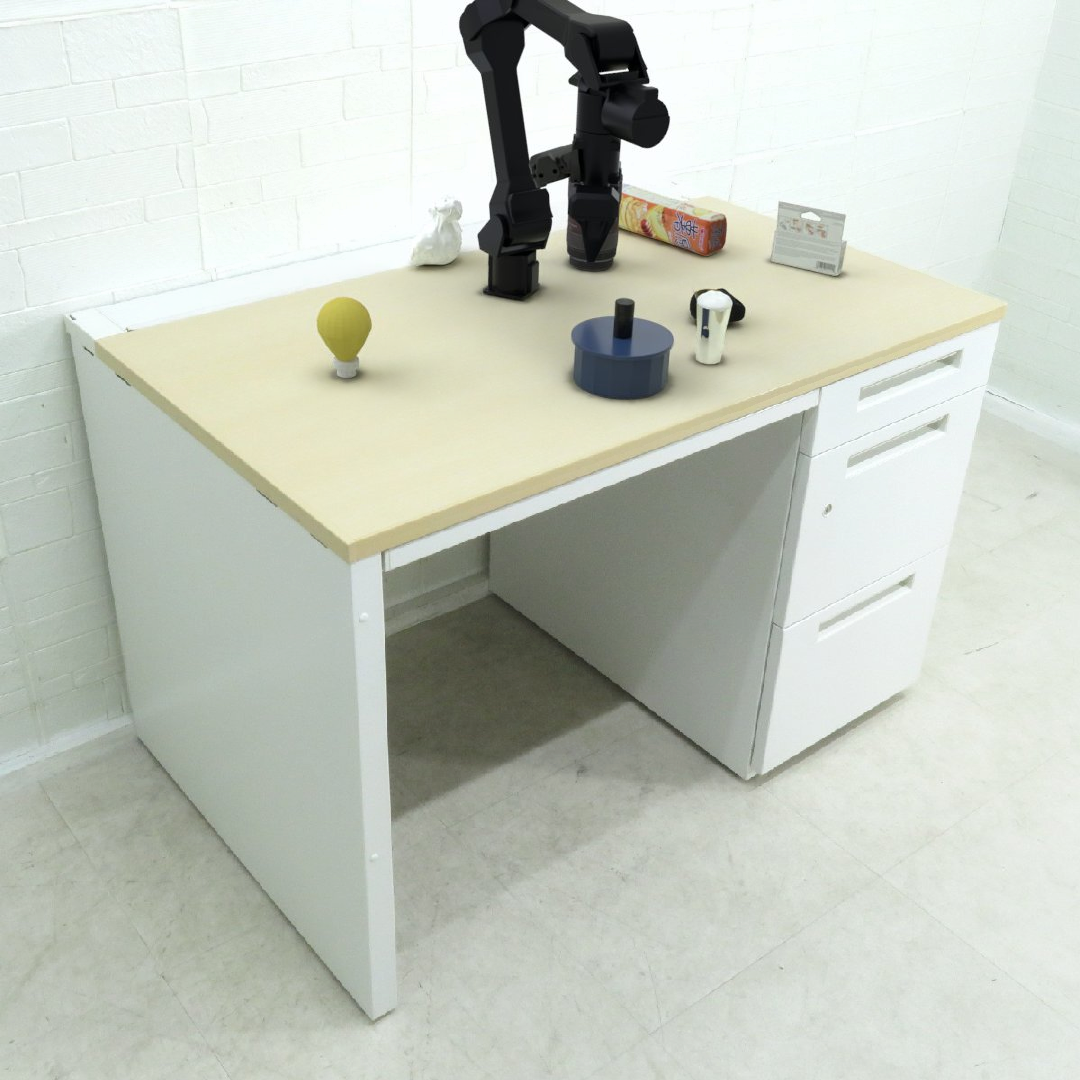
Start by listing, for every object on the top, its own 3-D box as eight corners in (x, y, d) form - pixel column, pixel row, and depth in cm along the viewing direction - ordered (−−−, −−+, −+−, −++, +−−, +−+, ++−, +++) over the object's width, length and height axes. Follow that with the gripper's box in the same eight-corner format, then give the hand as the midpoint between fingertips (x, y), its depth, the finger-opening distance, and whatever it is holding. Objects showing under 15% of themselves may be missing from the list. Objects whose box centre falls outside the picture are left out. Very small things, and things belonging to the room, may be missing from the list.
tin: (558, 387, 161) (560, 347, 158) (594, 353, 170) (596, 315, 168) (647, 406, 157) (651, 366, 154) (678, 370, 167) (682, 332, 164)
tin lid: (554, 352, 158) (556, 309, 155) (593, 317, 168) (596, 275, 165) (652, 373, 154) (656, 329, 151) (686, 336, 164) (691, 293, 161)
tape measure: (745, 327, 180) (749, 302, 178) (700, 332, 178) (703, 306, 176) (724, 309, 185) (727, 284, 183) (680, 313, 183) (683, 288, 181)
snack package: (728, 250, 206) (733, 209, 203) (703, 260, 202) (708, 217, 199) (625, 218, 218) (628, 178, 215) (600, 226, 214) (602, 186, 210)
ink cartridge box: (775, 257, 204) (784, 196, 199) (842, 273, 199) (852, 210, 194) (769, 262, 202) (777, 200, 197) (836, 277, 198) (846, 215, 192)
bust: (420, 287, 194) (460, 237, 187) (385, 250, 194) (424, 199, 187) (459, 263, 203) (499, 215, 196) (425, 228, 203) (464, 178, 196)
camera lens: (556, 267, 197) (560, 169, 189) (575, 251, 203) (580, 156, 196) (606, 276, 195) (612, 177, 187) (624, 260, 201) (631, 163, 193)
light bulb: (350, 390, 158) (346, 313, 153) (308, 376, 161) (303, 300, 156) (384, 371, 163) (381, 296, 158) (342, 358, 166) (339, 284, 161)
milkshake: (682, 352, 172) (689, 280, 166) (721, 352, 172) (730, 280, 167) (687, 366, 168) (695, 293, 162) (728, 366, 168) (737, 293, 163)
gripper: (539, 107, 169) (535, 223, 177) (528, 145, 153) (524, 271, 161) (624, 111, 169) (616, 228, 177) (622, 150, 153) (613, 276, 161)
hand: (591, 249), depth 169 cm, fingers open, 9 cm apart
